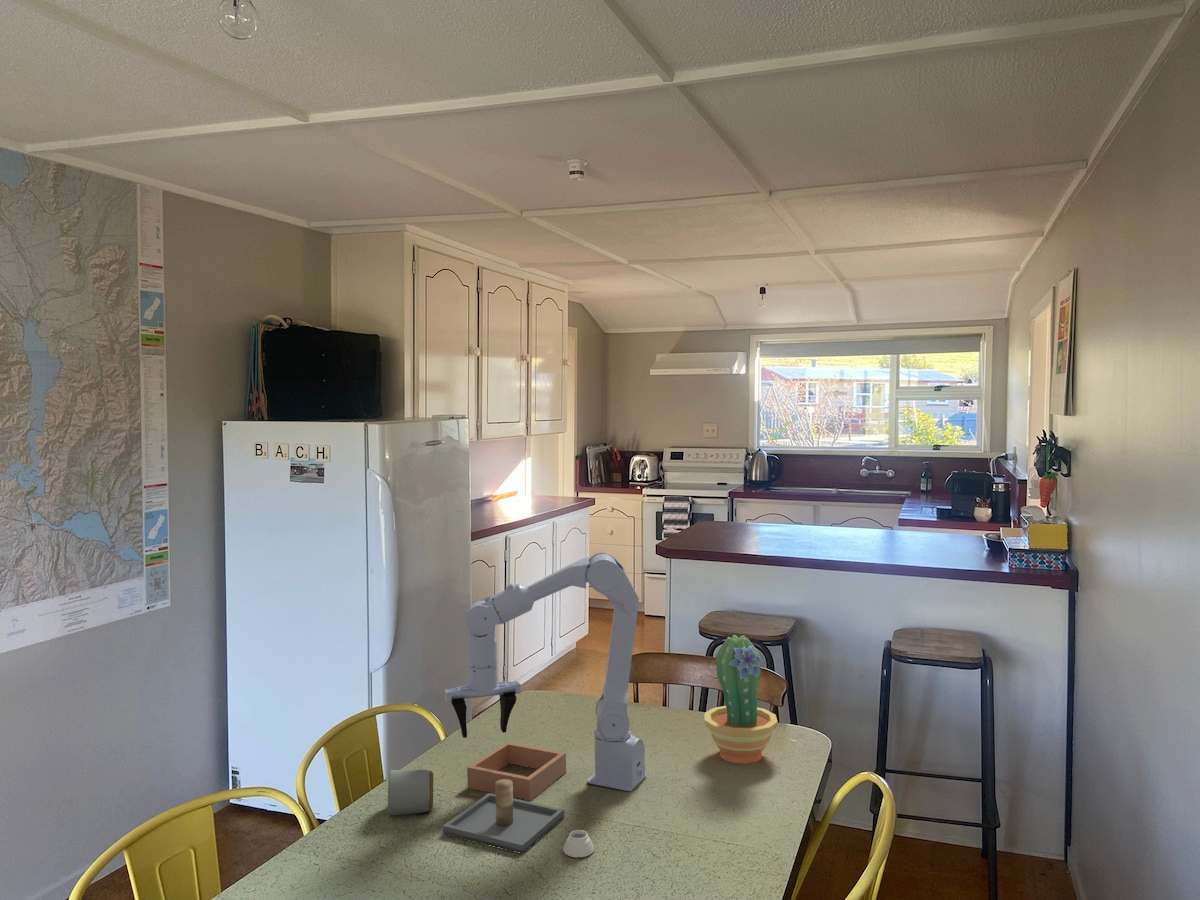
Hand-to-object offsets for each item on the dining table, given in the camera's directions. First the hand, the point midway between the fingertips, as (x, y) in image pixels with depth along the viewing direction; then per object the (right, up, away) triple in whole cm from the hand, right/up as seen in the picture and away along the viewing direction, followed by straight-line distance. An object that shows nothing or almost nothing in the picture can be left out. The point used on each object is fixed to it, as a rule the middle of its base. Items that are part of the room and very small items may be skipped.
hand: (484, 733), depth 165 cm
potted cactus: (+52, -9, +12) cm, 54 cm away
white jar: (+19, -11, -26) cm, 34 cm away
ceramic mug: (-12, -11, -10) cm, 19 cm away
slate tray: (+6, -10, -17) cm, 21 cm away
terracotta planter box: (+6, -10, +2) cm, 12 cm away
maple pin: (+6, -10, -17) cm, 21 cm away
